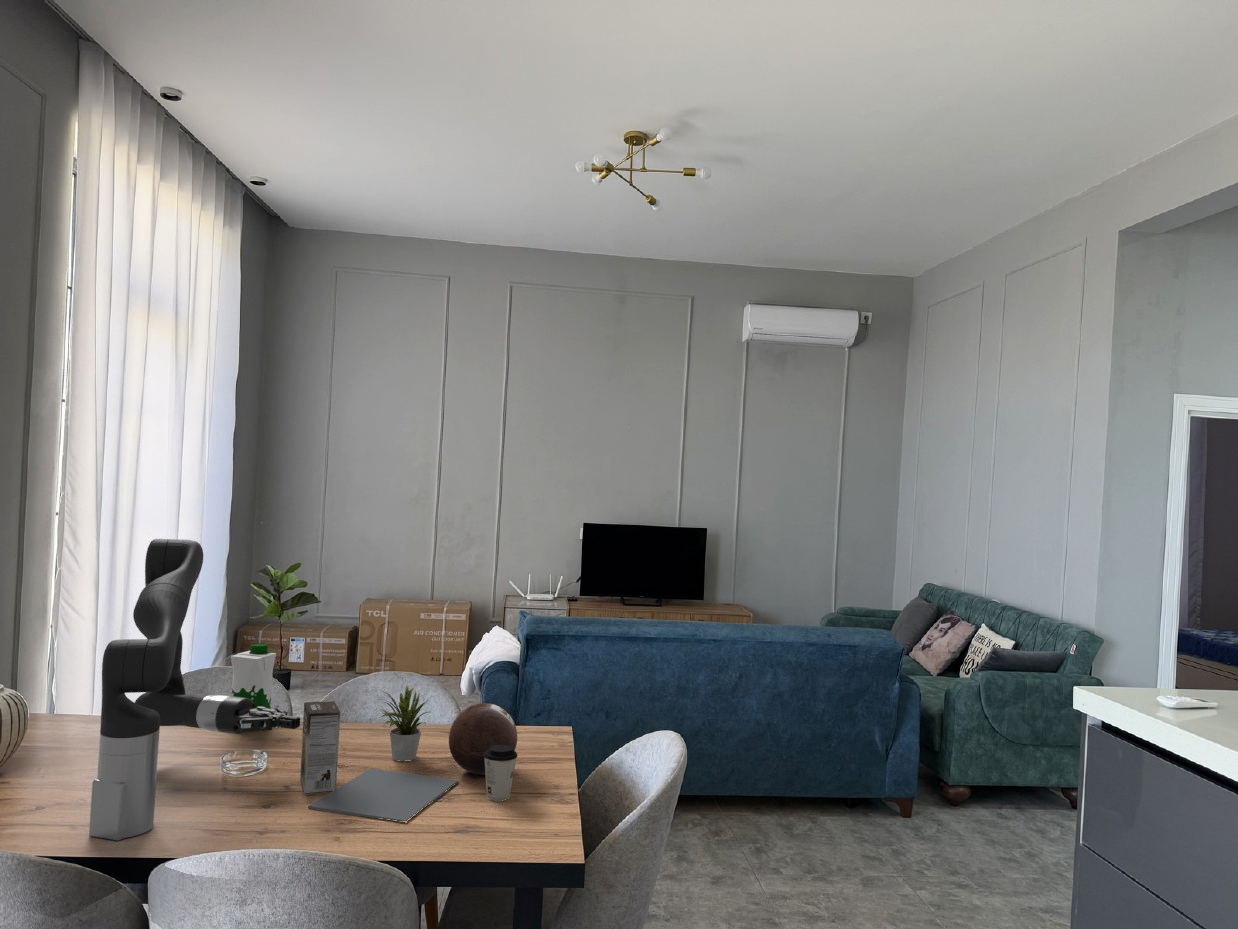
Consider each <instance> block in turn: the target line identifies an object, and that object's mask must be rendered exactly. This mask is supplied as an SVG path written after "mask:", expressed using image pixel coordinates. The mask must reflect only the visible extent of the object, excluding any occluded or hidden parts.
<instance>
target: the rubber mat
mask: <svg viewBox="0 0 1238 929" xmlns="http://www.w3.org/2000/svg"><path fill="white" fill-rule="evenodd" d="M457 782H458V783H459V779H453V778H452V779H451V778H443V777H437V776H429V775H424V774H423V775H422V774H416V773H415V774H414V773H408V772H401V771H394V770H387V769H380V768H372V767H371V768H369V769H367V770H366V771H364V772H362V773H360V774H359V775H356V776H355V777H354V778H352V779H350V780H349V781H347V782H345V783H344V784H342V785H340V786H338V787H337V788H336V789H335V790H334V791H329V793H327V794H326V795H323V796H322V797H320V798H319V799H317V800H315V801H313V802H311V804H308V805H307V809H309V808H311V809H310V810H315V809H316V811H321V812H328V811H330V813H335V814H343V815H348V814H350V816H354V815H359V816H358V817H361V816H364V817H363V818H367V817H371V818H370V819H374V818H383V819H390V820H397V821H407V820H408V819H409V818H411V817H412V816H413V815H414V814H416V813H417V812H418V811H420V810H421V809H422V808H424V807H425V806H426V805H428V804H429V803H431V802H432V801H434V800H435V799H436V798H437V797H439V796H440V795H441V794H443V793H444V792H445V791H446V790H448V789H449V788H450V787H452V786H453V785H454V784H456V783H457ZM458 783H457V784H458ZM457 784H456V785H457ZM453 787H454V786H453ZM453 787H452V788H453ZM449 790H450V789H449ZM449 790H448V791H449ZM445 793H446V792H445ZM445 793H444V794H445ZM444 794H443V795H444ZM440 797H441V796H440ZM440 797H439V798H440ZM436 800H437V799H436ZM436 800H435V801H436ZM435 801H434V802H435ZM431 804H432V803H431Z"/></svg>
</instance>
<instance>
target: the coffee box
mask: <svg viewBox="0 0 1238 929" xmlns="http://www.w3.org/2000/svg"><path fill="white" fill-rule="evenodd" d="M302 718H303V720H302V739H301V756H300V757H301V759H300V775H299V777H300V782H301V786H302V789H303V793H304V794H310V793H322V792H332V791H333V790H335V789H337V788H336V786H337V772H338V756H339V746H340V745H339V744H340V728H341V727H340V726H341V711H340V709H339V707H338V705H337V703H336V701H333V700H332V701H306V702H303V717H302Z"/></svg>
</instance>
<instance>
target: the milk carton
mask: <svg viewBox="0 0 1238 929" xmlns="http://www.w3.org/2000/svg"><path fill="white" fill-rule="evenodd" d="M268 648H269V644H267V643H260V642H258V643H251V644H250V650H248V651H247V650H246V651H242V652H238V653H236V654H233V655H230V659H231V660H230V661H231V666H232V685H231V686H232V687H231V696H234V697H243V698H249V699H251V700H252V702H253V703H254V705H255V707H256V708H257V707H259V706H262V707H266V708H267V709H272V708H271V707H272V706H271V705H272V689H273V688H272V687H273V672H274V666H275V661H276V656H277V653H276V652H274V653H273V652H271V651H268ZM251 732H254V731H251Z"/></svg>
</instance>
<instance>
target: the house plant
mask: <svg viewBox="0 0 1238 929" xmlns="http://www.w3.org/2000/svg"><path fill="white" fill-rule="evenodd" d="M413 691H414V693H413ZM381 692H382V693H385V694H386V695H385V696H387V697H390V700H391V701H392V702H390V701H388V700H385V699H384V701H385V702H386V704H387V706H389V707H390V709H392V711H393V712H388V711H386V710H383V709H381V711H383V713H382V715H380V717H379V719H380V718H384V717H387V719H388V720H386V721H385V722H384V725H383V726H385V725H387V724H389V725H390V726H389V728H391V727H392V726H394V725H395V726H396V727H394V728H391V729H390V730H389V737H390V748H391V759H392V758H393V759H392V760H393V761H394V760H400V761H405V760H413V759H415V758H417V753H418V749H419V745H420V740H421V735H422V730H421V729H420V728H418V727H419V726H420V725H421V724H425V725H427V723H426V722H419V721H420V719H421V718H420V717H422V716H423V715H425V714H428V713H430V714H431V713H432V714H433V712H432V711H425V712H423V713H421V714H420V715H418V714H419V713H420V711H421V709H422V708H423V706H424V705H425V704H427V702H429V699H427V700H426V701H424V702H423V703H421V704H420V705H419V702H420V693H418V694H417V690H416V689H415V690H414V687H413V688H411V689H409V686H408V685H406V686H405V690H404V692H405V693H404V696H403V693H402V692H400V694H399V702H398V704H397V702H396V700H395V698H393V696H391V694H389V693H388V692H385V691H382V690H380V693H381ZM412 694H413V696H412ZM412 697H413V698H412ZM411 698H412V702H411ZM376 700H377V701H379V700H380V701H383V698H382V699H376ZM418 705H419V706H418ZM417 716H418V717H417ZM393 718H394V719H395V720H394V719H393ZM415 760H416V759H415ZM413 761H414V760H413Z"/></svg>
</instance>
